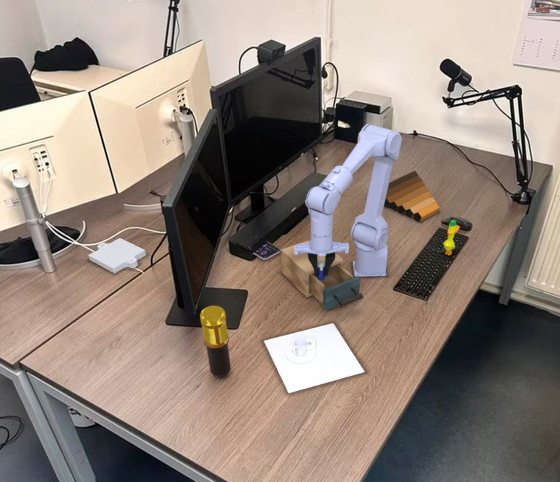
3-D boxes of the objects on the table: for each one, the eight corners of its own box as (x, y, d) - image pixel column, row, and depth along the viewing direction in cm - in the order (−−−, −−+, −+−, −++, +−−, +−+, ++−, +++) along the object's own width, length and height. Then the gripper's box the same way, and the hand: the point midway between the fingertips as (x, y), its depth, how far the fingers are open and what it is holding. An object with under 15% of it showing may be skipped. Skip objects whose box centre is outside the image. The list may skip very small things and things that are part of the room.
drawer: (368, 306, 156) (370, 287, 152) (335, 320, 152) (335, 300, 148) (332, 274, 169) (333, 255, 164) (300, 286, 165) (300, 267, 160)
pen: (324, 276, 154) (324, 259, 151) (325, 281, 153) (325, 264, 149) (317, 276, 155) (317, 259, 151) (317, 281, 153) (317, 264, 149)
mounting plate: (151, 257, 181) (150, 252, 180) (119, 276, 174) (118, 271, 172) (116, 240, 190) (115, 235, 189) (84, 257, 183) (83, 252, 181)
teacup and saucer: (312, 339, 148) (312, 328, 145) (323, 359, 142) (324, 347, 139) (281, 347, 146) (280, 336, 143) (291, 367, 140) (291, 356, 137)
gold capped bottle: (185, 395, 134) (172, 332, 121) (219, 362, 142) (210, 301, 130) (203, 405, 131) (192, 342, 119) (237, 371, 139) (230, 309, 127)
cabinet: (342, 283, 166) (343, 259, 161) (306, 297, 162) (306, 273, 156) (316, 260, 176) (316, 237, 171) (282, 272, 172) (281, 249, 166)
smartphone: (252, 233, 190) (282, 250, 181) (252, 234, 190) (282, 251, 181) (235, 241, 186) (264, 259, 177) (235, 243, 186) (264, 260, 177)
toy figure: (448, 246, 180) (454, 213, 172) (458, 250, 178) (465, 217, 171) (438, 255, 176) (444, 222, 169) (448, 259, 174) (454, 226, 167)
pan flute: (410, 177, 219) (367, 198, 207) (411, 169, 217) (367, 189, 205) (464, 198, 204) (421, 222, 192) (465, 190, 202) (422, 213, 190)
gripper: (293, 240, 141) (294, 283, 150) (351, 238, 141) (348, 282, 150) (293, 226, 147) (294, 268, 155) (348, 224, 146) (346, 267, 155)
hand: (320, 274), depth 153 cm, fingers closed on pen, 2 cm apart
